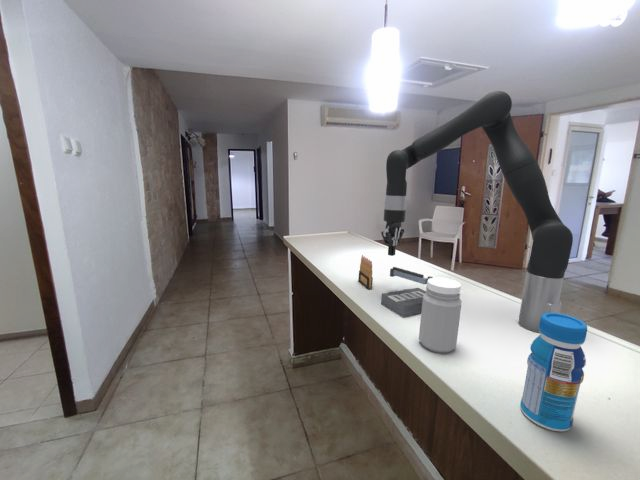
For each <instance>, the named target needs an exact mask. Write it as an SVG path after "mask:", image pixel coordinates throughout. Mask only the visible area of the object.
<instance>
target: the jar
mask: <svg viewBox="0 0 640 480" xmlns="http://www.w3.org/2000/svg"><path fill="white" fill-rule="evenodd" d="M426 287H427V290H426V289H425V291H426V293H425V294H424V296H423V302H422V312H421V314H420V323H419V333H418V334H419V335H418V340H419V342H420V343H421V345H422V346H423V347H424V348H425V349H427V350H429V351H431V352H434V353H439V354H448V353H450V352H452V351H453V350H455V349H457V342H458V335H459V327H460V320H461V310H462V302H463V301H462V300H461V298H460V297H461V287H462V284H461V282H458V280H455V279H452V278H447V277H437V276H436V277H433V278H430V279H428V281H427V284H426Z"/></svg>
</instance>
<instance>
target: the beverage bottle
mask: <svg viewBox="0 0 640 480" xmlns="http://www.w3.org/2000/svg"><path fill="white" fill-rule="evenodd" d="M538 333H540V334H539V335H538V336H537V337H535V339H534V340H533V341H532V342H531V344H530V351H531V353H530V354H529V355H528V357H527V360H526V365H527V368H526V369H527V370H526V375H525V379H524V386H523V393H522V396H521V398H520V399H521V400H520V404H519V405H520V409H521V411H522V413H523V415H524V416H525V417H526V418H527V419H529V420H530V422H532V423H534V424H536V425H538V426H539V427H542V428H544V429H546V430H549V431H554V432H567V431H569V430H571V429H572V426H573V422H574V414H575V410H576V405H577V401H578V396H579V392H580V388H581V384H582V383H583V382H584V379H585V372H584V370H583V368H585V366H586V365H587V359H586V354H585V352H584V350H583V348H582V347H581V346H583V344H584V343H585V341H586V337H587V333H588V325H587V324H586V323H585V322H584V321H582V320H581V319H579V318H577V317H574V316H572V315H571V316H570V315H567V314H562V313H560V314H559V313H544V314H542V316H541V318H540V324H539V332H538Z"/></svg>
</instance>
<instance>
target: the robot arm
mask: <svg viewBox="0 0 640 480" xmlns="http://www.w3.org/2000/svg"><path fill="white" fill-rule="evenodd" d="M512 107H513V101H512V98H511V96H510V95H509V94H508V93H507V92H505V91H502V90H494V91H491V92H488V93H487V94H485V95H484V96H483V97H481V98H480V99H478V101H476V102H475V103H474V104H472V105H471V106H470V107H468V108H467V109H465V110H464V111H463V112H461V113H459V114H458V115H457V116H455V117H454V118H452V119H451V120H449V121H446V123H443V124H442V125H440V126H438V127H436V128H435V129H433V130H431V131H430V132H429V131H428V132H427V133H426V134H424V135H422V136H420V137H419V138H417V139H415V140H414V141H413V142H412V143H411V144H410V145H408V146H407V147H405V148H403V149H396V150H392V151H391V152H390V153H389V154H388V155H387V159H386V164H385V165H386V166H385V167H386V168H385V170H386V172H385V173H386V188H385V198H384V206H383V221H384V222H386V225H385V230H384V231H381V234H380V235H381V237H382V239H383V242H384V243H385V245H387V246H388V248H387V249H388V250H387V255H388V256H391V257H393V256H396V249H397V248H396V247H397V245H398V244H400V242H401V239H402V237H403V235H404V233H405V229H404V228H402V223H405V221H406V210H407V189H408V187H407V186H408V183H407V179H406V177H407V176H406V175H407V169H409V168H411V167H413V166H415V165H416V164H418V163H419V162H421V161H423V160H424V159H427V158H429V157H431V156H434V155H435V154H436V153H439V152H440V151H442V150H444V149H445V148H447V147H448V146H450V145H451V144H453V143H454V142H456V141H457V140H458V139H460V138H462V137H464V135H465V136H466V135H467V134H468V133H470V132H472V131H474V130H476V129H479V128H482V129H483V131H484V133H485V135H486V136H487V139H489V141H490V143H491V145H492V148H493V151H494V153H495V156H496V160H497V162H498V166H499V168H500V170H501V173H502V175H503V178H504V180H505V182H506V185H507V187H508V188H509V190H510V192H511V194H512V196H513V197H514V198H515V200H516V201H517V203H518V205H519V206H520V208H521V210H522V211H523V213H524V215H525V218H526V221H527V223H528V227H529V230H530V234H531V237H532V238H531V239H532V244H531V250H530V255H529V260H528V263H527V268H526V273H525V274H526V275H525V280H524V285H523V291H522V296H521V303H520V308H519V315H518V324H519V326H521V327H523V328H524V329H526V330H529V331H532V332H534V333H535V332H536V333H540V332H539V324H540V318H541V316H542V314H544V313H559V314H561V312H562V311H561V310H562V305H563V301H561V299H560V298H561V293H562V287H563V283H564V277H565V273H566V271H567V269H568V266H569V262H570V257H571V253H572V248H573V241H574V236H573V233H572V231H571V230H570V228H568V226H566V225H565V224H564V223H563V222H562V220H561V218H560V216H559V214H557V211H556V209H555V208H554V206H553V205H552V202H551V199H550V195H549V191H548V187H547V183H546V180H545V177H544V174H543V171H542V170H541V167H540V165H539V163H538V161H537V159H536V157H535V155H534V154H533V152H532V150H531V149H530V148H529V146H528V145H527V144H526V143H525V142H524V140H523V139H522V138H521V137H520V136H519V133H518V131H517V130H516V127H515V125H514V122H513V119H512V116H511V115H512V114H511V111H512Z"/></svg>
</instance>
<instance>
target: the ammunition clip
mask: <svg viewBox="0 0 640 480" xmlns="http://www.w3.org/2000/svg"><path fill="white" fill-rule="evenodd" d="M373 279H374V278H373V262H372V260H371V259H369V258H367V257H366V256H364V255H361V259H360V264H359V271H358V279H357V280H358V283H359V284H360V285H362V286H363V287H364V288H365V289H366V290H367V291H370V290H373Z"/></svg>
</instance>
